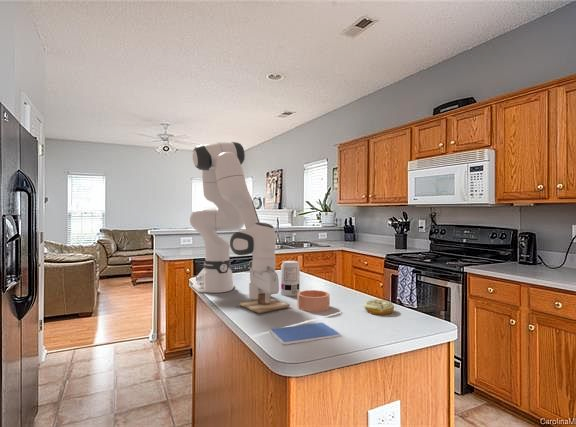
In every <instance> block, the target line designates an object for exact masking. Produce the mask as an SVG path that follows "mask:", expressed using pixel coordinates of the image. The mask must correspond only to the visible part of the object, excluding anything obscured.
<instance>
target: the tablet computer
mask: <svg viewBox="0 0 576 427" xmlns="http://www.w3.org/2000/svg"><path fill="white" fill-rule="evenodd" d="M268 332H269V333H270V334H271V336H273V337H274V338H275V339H276V340H277V341H278V342H279V343H280V344H281V345H282V346H283V345H286V346H287V345H291V344H298V343H299V344H300V343H304V342H306V341H307V342H312V341H319V340H327V339H335V338H340V337H342V334H341V333H340V332H338V331H337V330H335V329H333V328H332V327H330V326H329V325H327V324H326V323H324V322H316V323H309V324H301V325H292V326H286V327H285V326H283V327H277V328H275V327H274V328H270V329H269V331H268ZM326 338H327V339H326Z"/></svg>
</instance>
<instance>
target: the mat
mask: <svg viewBox="0 0 576 427" xmlns="http://www.w3.org/2000/svg"><path fill="white" fill-rule="evenodd" d="M234 308H237V309H240V310H242V311H244V312H247V313H250V314H252V315H255V316H256V317H261V316H266V315H269V314H274V313H278V312H282V311H283V312H284V311H287V310H291V309H293V307H291V306H289V307H285V308H281V309H276V310H272V311H267V312H263V313H257V312H255V311H252V310H250V309H248V308H245V307H243V306H241V305H239V304H238V305H234Z"/></svg>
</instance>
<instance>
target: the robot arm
mask: <svg viewBox="0 0 576 427" xmlns="http://www.w3.org/2000/svg"><path fill="white" fill-rule="evenodd" d="M191 158H192V161H193V164H194V167H195V168H197V169H198V170H199V171H202V172H201V173H202V189H203V196H204V198H205V199H206V200H207V201H209V202H210V203H213V205H215V206H216V207H200V208H196V209H193V211H191V213H190V216H189V224H190V225H191V227H192V228H193V230H195V231H196V232H198V234H200V236H201V237H202V240H203V242H204V249H205V250H204V251H205V260H204V261H203V268H202V269H201V270H200V272H199V273H198V274H197V275H196V277H195V281H196V283H193V284H191V288H193V289H194V290H195V291H196V292H198V293H211V294H212V293H215V294H216V293H219V294H220V293H226V292H230V291H232V290H233V288H234V289H235V288H236V284H234V279H233V271H232V269H231V259H230V249H231V251H232V252H233V253H234V254H235V255H236V256H241V257H243V256H249V255H251V256H252V259H251V260H250V261H249V262H248V267H249V280H250V283H251V284H252V285H254V286H256V287H257V292H258V294H261V293H263V291H265V294H266V295H265V298H264V302H265V303H269V302H270V298H272V295H276V294H278V293H279V292H280V283H279V282H280V281H279V274H278V273H277V272H276V267H277V266H276V262H277V261H276V259H277V258H276V257H277V256H276V253H275V252H276V251H275V249H276V246H277V245H276V241H277V240H276V231H275V227H274V225H272V224H270V223H267V222H260V219H259V217H258V214H257V211H256V207H255V204H254V201H253V199H252V196H251V194H250V192H249V189H248V186H247V182H246V179H245V174H244V170H243V167H242V165H243V163H244V162H245V158H246V154H245V149H244V147H243V145H242V144H241V143H239V142H236V141H231V142H225V141H224V142H222V141H221V142H215V143H214V142H213V143H207V144H199V145H196V146H195V147H194V148H193V150H192V157H191ZM243 227H245V229H243V230H241V229H242V228H243ZM238 230H239V231H238ZM218 231H219V232H220V231H221V232H223V231H226V232H231V231H238V232H234V233H233V234H231V237H230V241H229V242H228V241H227V240H226V239H224V238H222V237H220V236H219V235H218V233H217V232H218Z"/></svg>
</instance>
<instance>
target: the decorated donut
mask: <svg viewBox="0 0 576 427" xmlns="http://www.w3.org/2000/svg"><path fill="white" fill-rule="evenodd" d="M363 307H364V309H365V310H366V311H367V312H368V313H369V314H371V315H377V316H382V315H383V316H384V315H385V316H386V315H390V314H392V313H393V311H394V309H395V305H394V303H393V302H391V301H388V300H382V299H377V298H376V299H369V300H368V301H365V303H364V306H363Z"/></svg>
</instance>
